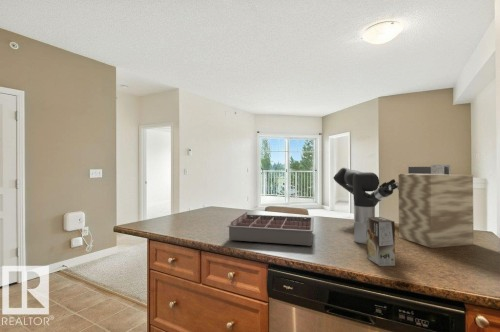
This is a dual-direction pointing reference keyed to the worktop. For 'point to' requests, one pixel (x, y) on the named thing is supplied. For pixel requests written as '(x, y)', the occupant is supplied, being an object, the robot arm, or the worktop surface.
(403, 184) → the wood grain block
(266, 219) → the organizer tray
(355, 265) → the worktop surface
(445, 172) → the bar
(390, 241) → the coffee box
